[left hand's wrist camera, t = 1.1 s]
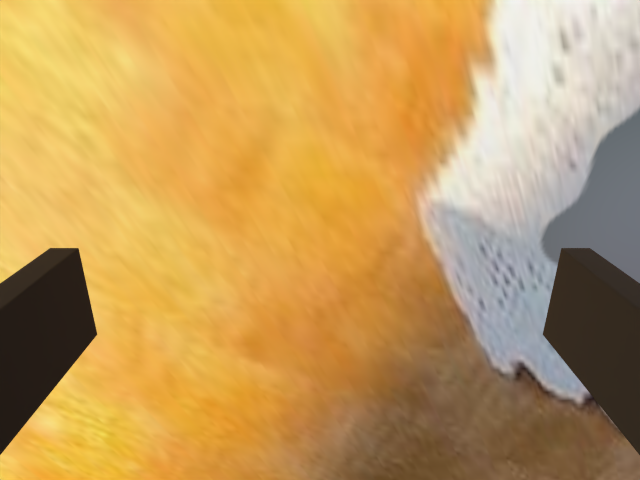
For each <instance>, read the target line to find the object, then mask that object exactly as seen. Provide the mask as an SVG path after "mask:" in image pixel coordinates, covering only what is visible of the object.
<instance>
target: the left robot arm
mask: <svg viewBox="0 0 640 480" xmlns="http://www.w3.org/2000/svg"><path fill="white" fill-rule="evenodd" d="M96 335H97V332H96V327H95V322H94V318H93V313H92V309H91V304H90V299H89V295H88V290H87V286H86V281H85V276H84V272H83V267H82V262H81V258H80V253H79V249H78V248H50V249H48V250H47V251H46V252H44V253H43V254H41V255H40V256H39V257H37V258H36V259H34V260H33V261H32V262H30V263H29V264H27V265H26V266H24V267H23V268H22V269H20V270H19V271H17V272H16V273H15V274H13V275H12V276H10V277H9V278H8V279H6V280H5V281H3V282H2V283H0V455H1V453H2V452H3V451H4V450H5V448H6V447H7V446H8V445H9V443H10V442H11V441H12V440H13V438H14V437H15V436H16V435H17V433H18V432H19V431H20V430H21V428H22V427H23V426H24V425H25V424H26V422H27V421H28V420H29V419H30V417H31V416H32V415H33V414H34V412H35V411H36V410H37V409H38V407H39V406H40V405H41V404H42V402H43V401H44V400H45V399H46V397H47V396H48V395H49V394H50V392H51V391H52V390H53V389H54V387H55V386H56V385H57V384H58V382H59V381H60V380H61V379H62V378H63V376H64V375H65V374H66V373H67V371H68V370H69V369H70V368H71V366H72V365H73V364H74V363H75V361H76V360H77V359H78V358H79V356H80V355H81V354H82V353H83V351H84V350H85V349H86V348H87V346H88V345H89V344H90V343H91V341H92V340H93V339H94V338H95V336H96ZM543 335H544V336H545V338H546V339H547V340H548V341H549V343H550V344H551V345H552V346H553V348H554V349H555V350H556V351H557V353H558V354H559V355H560V356H561V358H562V359H563V360H564V361H565V363H566V364H567V365H568V366H569V368H570V369H571V370H572V371H573V373H574V374H575V375H576V376H577V378H578V379H579V380H580V381H581V382H582V384H583V385H584V386H585V387H586V389H587V390H588V391H589V392H590V394H591V395H592V396H593V397H594V399H595V400H596V401H597V402H598V404H599V405H600V406H601V407H602V409H603V410H604V411H605V412H606V414H607V415H608V416H609V417H610V419H611V420H612V421H613V422H614V424H615V425H616V426H617V427H618V428H619V430H620V431H621V432H622V433H623V435H624V436H625V437H626V438H627V440H628V441H629V442H630V443H631V445H632V446H633V447H634V448H635V450H636V451H637V452H638V453H639V455H640V283H638V282H637V281H635V280H634V279H632V278H631V277H630V276H628V275H627V274H625V273H624V272H623V271H621V270H620V269H618V268H617V267H616V266H614V265H613V264H611V263H610V262H608V261H607V260H606V259H604V258H603V257H601V256H600V255H599V254H597V253H596V252H594V251H593V250H592V249H590V248H562V249H561V253H560V258H559V262H558V267H557V272H556V276H555V281H554V286H553V290H552V295H551V299H550V304H549V309H548V313H547V318H546V322H545V327H544V332H543Z"/></svg>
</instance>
